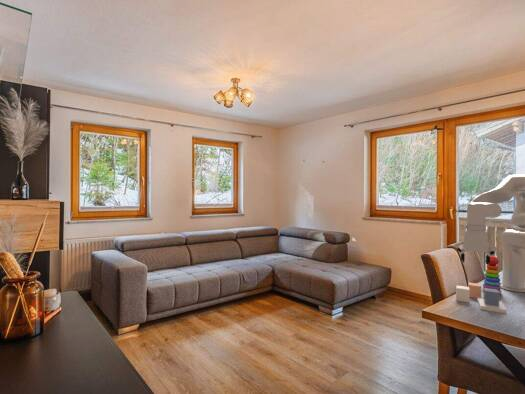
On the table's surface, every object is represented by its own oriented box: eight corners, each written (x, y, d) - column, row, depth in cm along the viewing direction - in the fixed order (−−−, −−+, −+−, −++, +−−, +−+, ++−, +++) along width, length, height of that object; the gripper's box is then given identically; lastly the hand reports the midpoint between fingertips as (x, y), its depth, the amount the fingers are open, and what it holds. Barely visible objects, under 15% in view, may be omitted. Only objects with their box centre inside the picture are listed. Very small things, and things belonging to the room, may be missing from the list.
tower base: (477, 300, 145) (477, 285, 145) (501, 304, 141) (501, 288, 141) (480, 309, 135) (480, 292, 135) (506, 313, 131) (506, 296, 130)
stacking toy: (505, 294, 154) (506, 257, 154) (489, 294, 154) (490, 257, 154) (494, 289, 162) (494, 254, 161) (478, 289, 162) (479, 254, 162)
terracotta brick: (467, 294, 155) (468, 282, 155) (479, 295, 153) (480, 283, 153) (468, 297, 151) (469, 284, 151) (481, 298, 148) (481, 286, 148)
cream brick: (456, 297, 150) (456, 285, 150) (468, 299, 148) (468, 286, 147) (456, 300, 146) (456, 288, 146) (469, 302, 143) (469, 289, 143)
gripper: (455, 227, 152) (454, 262, 152) (499, 230, 143) (498, 266, 144) (454, 226, 158) (453, 259, 159) (496, 228, 150) (495, 263, 150)
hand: (474, 262), depth 151 cm, fingers open, 9 cm apart
